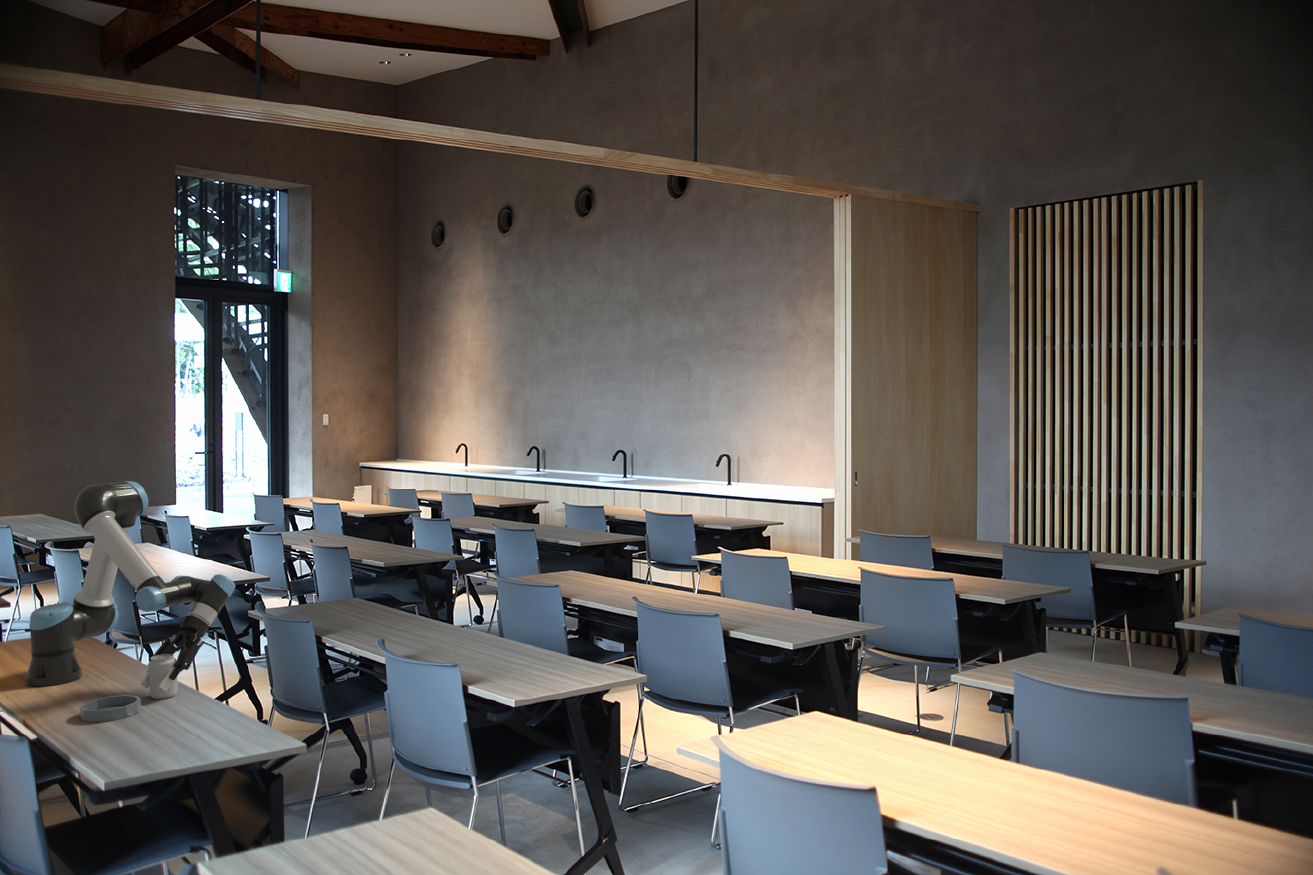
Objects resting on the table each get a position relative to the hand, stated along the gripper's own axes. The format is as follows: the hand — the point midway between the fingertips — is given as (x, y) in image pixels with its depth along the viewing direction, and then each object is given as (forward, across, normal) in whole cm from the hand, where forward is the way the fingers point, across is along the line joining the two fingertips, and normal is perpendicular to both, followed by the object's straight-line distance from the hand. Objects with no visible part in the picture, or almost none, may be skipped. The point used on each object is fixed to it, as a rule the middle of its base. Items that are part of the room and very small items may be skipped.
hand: (153, 687), depth 289 cm
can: (0, 0, -5) cm, 5 cm away
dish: (+12, -1, +7) cm, 15 cm away
